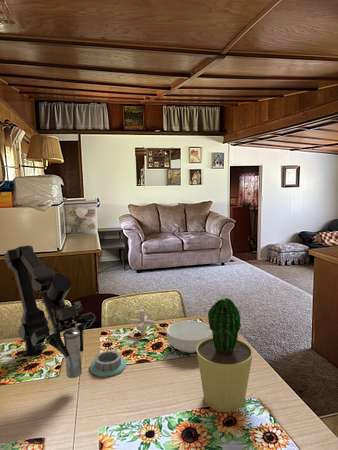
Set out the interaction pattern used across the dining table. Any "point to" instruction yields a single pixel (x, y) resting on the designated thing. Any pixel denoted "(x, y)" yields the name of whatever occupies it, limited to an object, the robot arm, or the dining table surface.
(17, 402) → the dining table surface
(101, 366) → the collar
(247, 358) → the potted cactus
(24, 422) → the dining table surface
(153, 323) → the pipe connector
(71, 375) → the gray tube
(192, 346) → the cereal bowl
